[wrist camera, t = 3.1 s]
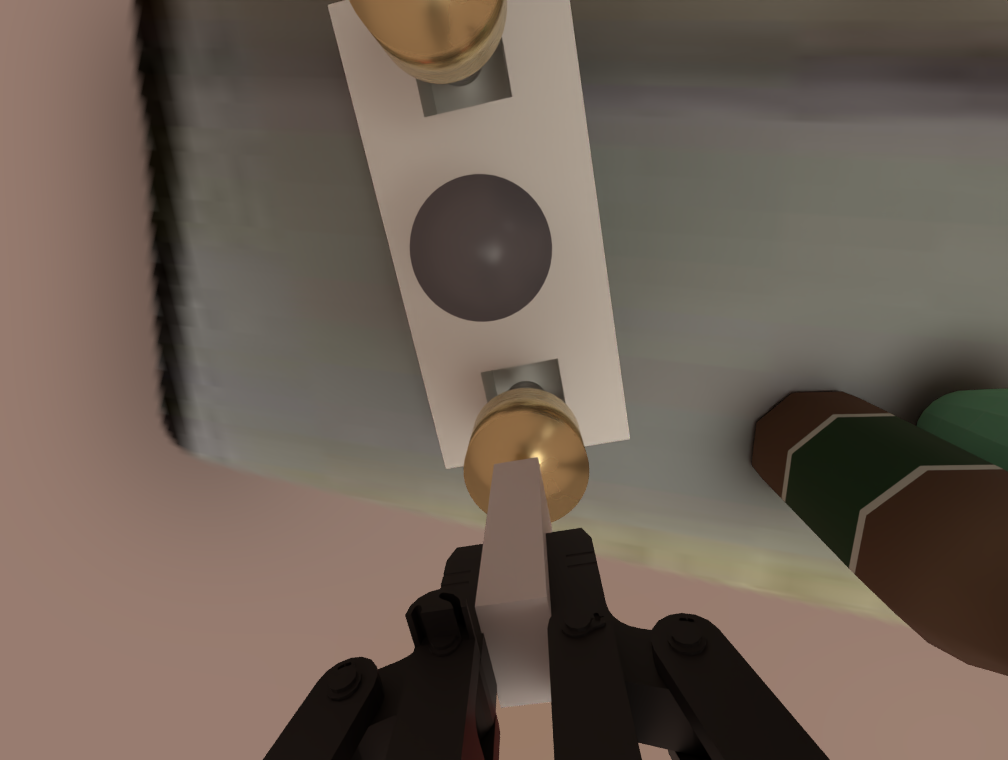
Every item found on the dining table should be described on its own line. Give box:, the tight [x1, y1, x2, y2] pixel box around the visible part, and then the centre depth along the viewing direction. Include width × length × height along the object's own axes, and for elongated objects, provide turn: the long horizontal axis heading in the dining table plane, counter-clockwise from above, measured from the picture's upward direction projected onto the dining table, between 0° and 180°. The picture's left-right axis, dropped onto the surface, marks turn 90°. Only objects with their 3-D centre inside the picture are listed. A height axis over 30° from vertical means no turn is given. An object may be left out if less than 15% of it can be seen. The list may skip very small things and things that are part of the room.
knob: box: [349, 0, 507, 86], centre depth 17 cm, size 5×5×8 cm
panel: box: [328, 0, 630, 469], centre depth 26 cm, size 22×10×6 cm, turn 11°
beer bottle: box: [752, 392, 1008, 676], centre depth 20 cm, size 8×8×24 cm
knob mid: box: [410, 174, 552, 322], centre depth 20 cm, size 5×5×8 cm
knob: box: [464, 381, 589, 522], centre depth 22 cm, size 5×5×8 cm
